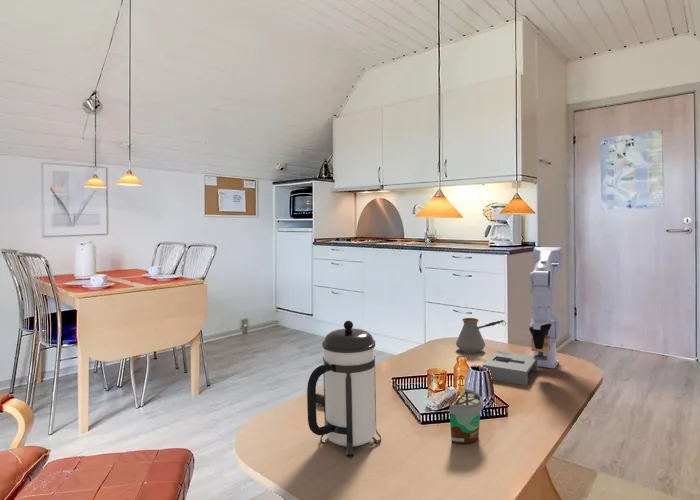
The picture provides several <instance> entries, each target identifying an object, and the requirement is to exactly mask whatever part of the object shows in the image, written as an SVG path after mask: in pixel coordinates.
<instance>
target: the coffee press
mask: <svg viewBox="0 0 700 500" xmlns="http://www.w3.org/2000/svg"><path fill="white" fill-rule="evenodd" d="M343 327H344V328H339V329H335V330H332V331H330V332H329V333H327V334H326V336H325V337H324V340H323V341H322V343H321V345H322V349H323V360H322V361H323V362H322V363H323V364H321V365H319V366H317V367H316V368H314V370H312V372H311V374H310V376H309V378H308V382H307V389H306V390H307V391H306V399H307V400H306V401H307V402H306V403H307V405H306V406H307V423H308V428H309V430H310V431H311V432H312V433H313V434H314V435H316V436H320V439H319V441H320V443H321V442H322V440H323V439H322V438H323V437H324V436H325V435H326V436H327V438H326V439H325V442H326V443H327V442H328V441H330V442H331V443H333V444H335V445H338V446H340V447H341V446H342V447H346V456H347V458H352V457H353V456H354V447H358V446H362V445H365V444H367V443H369V442H370V441H372V440H373V442H375V443H376V444H381V442H382V436H381V435H380V433H379V432H378V430H377V429H376V426H377V401H376V400H377V398H376V393H377V392H376V385H375V367H376V356H375V347H376V340H375V339H374V337H373V335H372V334H371V333H369V332H368V331H366V330H363V329H360V328H353V327H354V323H353V322H352V321H351V320H346V321H344V323H343ZM322 375H323V389H324V406H323V407H324V409H323V411H324V412H323V413H324V414H323V415H324V425H323V426H319V424H318V422H317V421H318V420H317V403H316V394H317V392H316V391H317V389H316V388H317V383H318V380H319V378H320V377H322ZM375 434H376V435H377V436H378V437H379V439H377V438H375V437H374V436H375Z"/></svg>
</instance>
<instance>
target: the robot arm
mask: <svg viewBox="0 0 700 500" xmlns="http://www.w3.org/2000/svg"><path fill="white" fill-rule="evenodd" d="M532 255H533V256H532V257H533V263H534V264H533V265H534V267H533V271H531V272H530V273H529V274H530V275H529V284H530V293H531V317H530V322H529V323H530V324H529V327H528V330H529V337H530V338H531V339H532V336H533V340H534V345H535V348H536V349H542V348H543V344H544V339H545V335H546V336H550V350H549V352H548V353H545V352H543V355H546V356H547V360H545V361H541V360H538V367H541V368H547V369H548V368H549V369H555V368H556V367H557V365H558V364H559V360H558V359H557V355H556V354H557V345H556V343H557V342H556V341H559V340H560V338H561V337H560V335H561V321H560V319H559V317H558V316H556V315H555V314H553V303H554V287H555V285H554V284H555V282H554V281H555V277H556V274H557V273H559V272H561V271H562V267H563V248H562V246H559V247H557V246H556V247H555V246H542V247H541V246H535V247H534V248H533V253H532ZM535 354H538V352H537V351H533V356H534V355H535Z"/></svg>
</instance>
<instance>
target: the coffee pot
mask: <svg viewBox="0 0 700 500" xmlns="http://www.w3.org/2000/svg"><path fill="white" fill-rule="evenodd" d="M462 321H463V325H462V328H461V329H460V333H459V335H458V337H457V339H456V342H455V345H456V347H457V348H458V349H459V350H460V351H461V352H462V353H465V354H479V353H481V352H482V350H483V349H484V348H485V347H486V343H485V341H484V337H483V336H482V333H481V332H480V331H481V330H480V329H484V328H487V327H491V326H495V325H497V324H498V325H500V324H502V326H503V327H505V326H506V324H507V322H506V321H505V320H502V319H501V320H496V321H492V322H489V323H485V324H483V325H480V326H478V322H479V319H478V318H473V317H464V318H462ZM503 323H504V324H503Z"/></svg>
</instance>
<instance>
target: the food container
mask: <svg viewBox="0 0 700 500" xmlns="http://www.w3.org/2000/svg"><path fill="white" fill-rule="evenodd" d="M483 409H484V403H483V399H482V397H481V395H480V394H479V393H477V392H476V391H474V390H471V389H467V388H464V392H463V394H462V395H461V396H460V397H458V398H457V399H456V400H455V402H454V404H449V412H448V413H449V414H450V415H449V417H450V436H451V437H450V438H451V439H450V440H451V444H452V445H456V446H458V445H460V446H466V445H472V444H475V443H476V442H477V441H478V440H479V437H480V435H479V433H480V421H481V420H480V419H481V411H483Z"/></svg>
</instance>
